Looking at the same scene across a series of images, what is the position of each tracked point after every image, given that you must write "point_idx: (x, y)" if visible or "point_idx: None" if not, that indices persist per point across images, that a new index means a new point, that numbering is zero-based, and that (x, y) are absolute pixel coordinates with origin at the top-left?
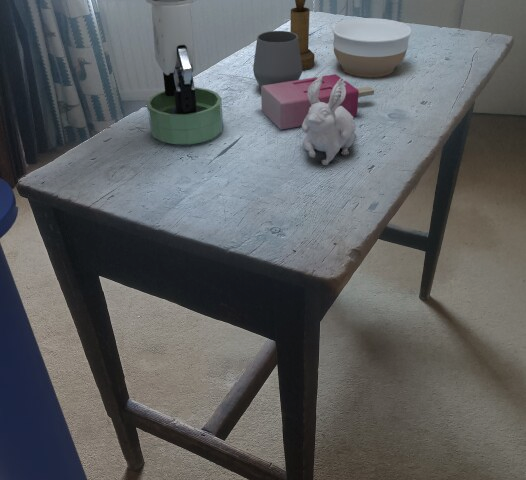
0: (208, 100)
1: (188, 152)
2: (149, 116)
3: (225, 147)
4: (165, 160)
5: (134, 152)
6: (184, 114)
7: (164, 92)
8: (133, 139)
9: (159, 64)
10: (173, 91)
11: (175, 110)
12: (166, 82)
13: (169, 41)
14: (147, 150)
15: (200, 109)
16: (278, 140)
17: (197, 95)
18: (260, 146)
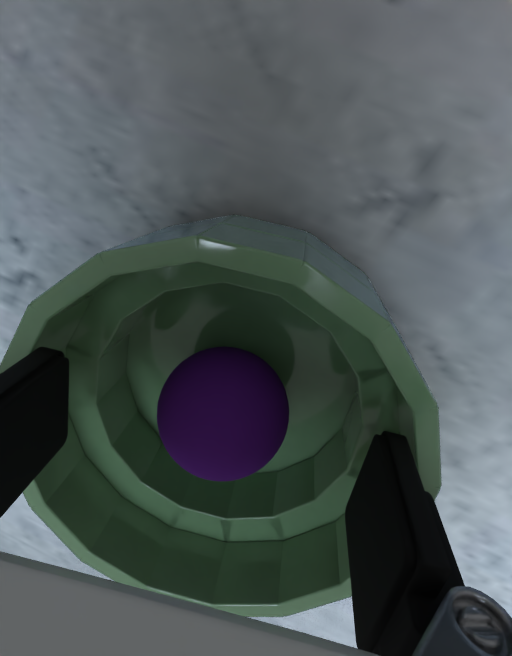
0: (274, 558)
1: None
2: (254, 234)
3: None
4: (21, 175)
5: (156, 67)
6: None
7: (414, 439)
8: (306, 121)
9: (99, 620)
10: (364, 482)
11: (216, 386)
12: (388, 501)
13: None
14: (148, 139)
15: (290, 496)
16: (37, 552)
17: (334, 552)
18: (17, 498)
